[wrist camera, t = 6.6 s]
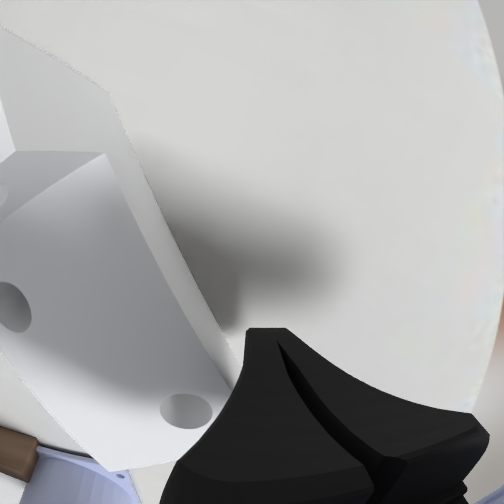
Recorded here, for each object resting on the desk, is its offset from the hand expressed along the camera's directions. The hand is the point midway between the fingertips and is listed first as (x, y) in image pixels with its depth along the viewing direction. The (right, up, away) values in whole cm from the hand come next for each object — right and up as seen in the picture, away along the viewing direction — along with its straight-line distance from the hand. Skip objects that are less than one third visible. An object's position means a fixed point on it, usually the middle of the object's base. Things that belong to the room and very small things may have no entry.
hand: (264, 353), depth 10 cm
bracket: (-6, +2, +2) cm, 7 cm away
